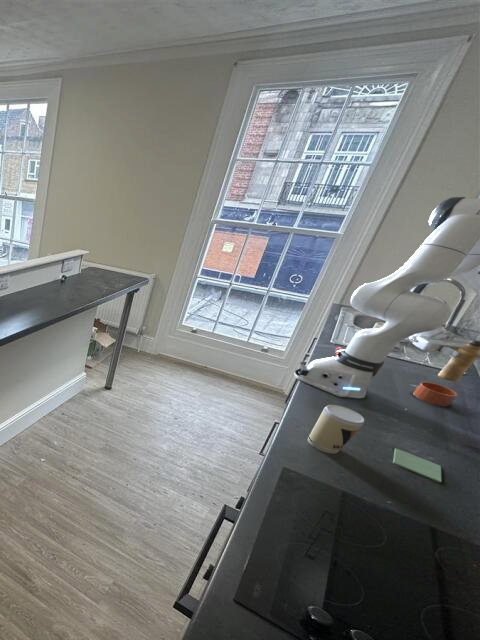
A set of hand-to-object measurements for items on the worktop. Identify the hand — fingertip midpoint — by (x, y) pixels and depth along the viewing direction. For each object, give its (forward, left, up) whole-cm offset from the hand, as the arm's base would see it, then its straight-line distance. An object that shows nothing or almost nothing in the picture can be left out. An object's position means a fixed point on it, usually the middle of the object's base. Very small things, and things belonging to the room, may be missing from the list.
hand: (468, 356), depth 141 cm
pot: (-1, +1, -19) cm, 19 cm away
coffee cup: (-25, -71, -19) cm, 78 cm away
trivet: (-4, -59, -19) cm, 62 cm away
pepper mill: (-1, +1, -9) cm, 9 cm away
